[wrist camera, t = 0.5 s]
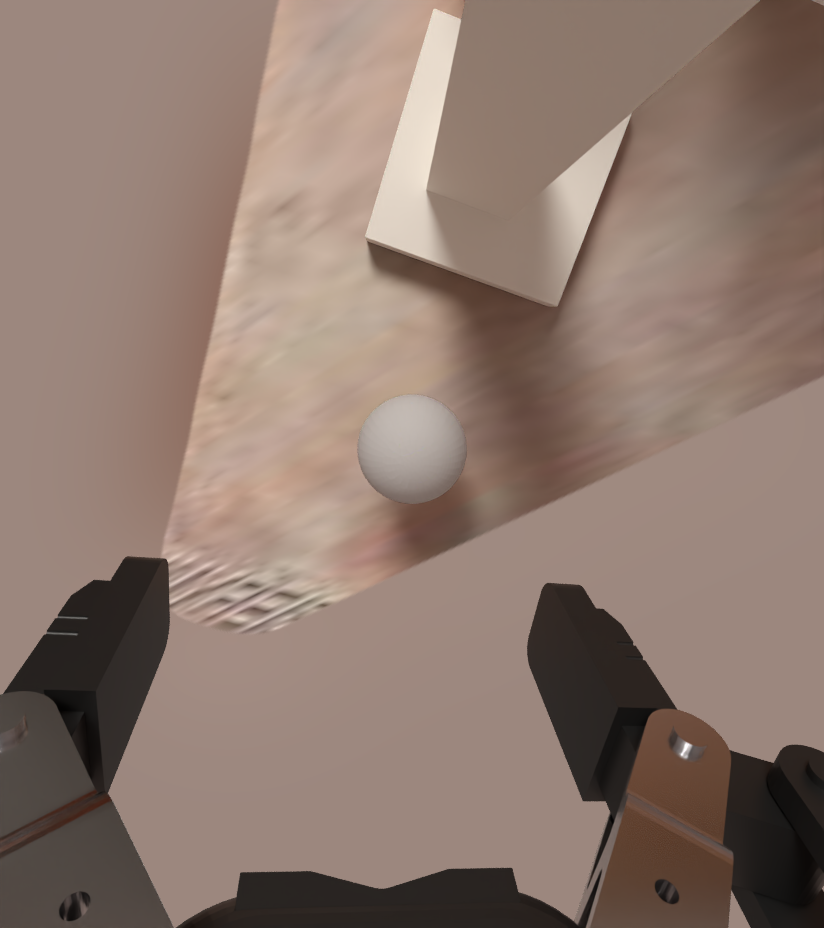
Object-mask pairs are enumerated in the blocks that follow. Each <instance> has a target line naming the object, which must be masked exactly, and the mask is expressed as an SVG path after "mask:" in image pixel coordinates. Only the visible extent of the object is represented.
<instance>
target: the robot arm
mask: <svg viewBox="0 0 824 928" xmlns="http://www.w3.org/2000/svg"><path fill="white" fill-rule="evenodd" d="M169 613H170V612H169V570H168V562H167V560H166V559H162V558H145V557H129V556H128V557H125V559H124V560H123V561H122V563H121V564H120V566H119V568H118V569H117V571H116V573H115V574H114V576H113V577H112V579H111V581H102V580H93V581H92V582H90V583H89V584H87V585H86V586H84V587H83V588H82V589H80V590H79V591H77V592H76V593H74V594H73V595H71V597H70V598H69V599H68V601H67V602H66V604H65V605H64V607H63V608H62V610H61V611H60V612H59V614H58V618H56V619H55V620H54V621H53V623H52V624H51V625H50V627H49V628H48V630H47V634H46V635H44V636H43V637H42V638H41V640H40V641H39V643H38V644H37V646H36V647H35V648H34V650H33V651H32V653H31V654H30V656H29V657H28V659H27V660H26V661H25V663H24V664H23V666H22V668H21V669H20V670H19V672H18V673H17V674H16V676H15V678H14V679H13V680H12V682H11V683H10V685H9V686H8V688H7V689H6V690H5V692H4V693H3V694H1V695H0V928H174V927H173V925H172V923H171V921H170V918H169V917H168V914H167V912H166V910H165V908H164V906H163V904H162V902H161V900H160V898H159V896H158V894H157V892H156V889H155V888H154V886H153V883H152V881H151V879H150V877H149V875H148V873H147V871H146V869H145V867H144V865H143V863H142V860H141V858H140V856H139V854H138V852H137V850H136V848H135V846H134V844H133V842H132V840H131V838H130V836H129V834H128V832H127V829H126V828H125V826H124V823H123V821H122V820H121V817H120V815H119V813H118V811H117V809H116V807H115V805H114V803H113V801H112V799H111V797H110V796H109V794H108V791H109V789H110V786H111V784H112V781H113V779H114V776H115V774H116V771H117V769H118V766H119V764H120V761H121V759H122V756H123V754H124V751H125V749H126V746H127V744H128V741H129V739H130V736H131V734H132V731H133V729H134V726H135V724H136V721H137V719H138V716H139V714H140V711H141V708H142V706H143V704H144V701H145V699H146V696H147V694H148V691H149V689H150V686H151V684H152V681H153V679H154V676H155V674H156V671H157V669H158V666H159V663H160V661H161V658H162V656H163V653H164V651H165V647H166V644H167V639H168V634H169V624H170V614H169ZM527 655H528V662H529V666H530V669H531V671H532V674H533V676H534V679H535V681H536V684H537V686H538V689H539V692H540V694H541V696H542V699H543V702H544V704H545V707H546V709H547V712H548V714H549V717H550V719H551V722H552V724H553V727H554V729H555V732H556V734H557V737H558V739H559V742H560V744H561V747H562V749H563V752H564V754H565V757H566V759H567V762H568V765H569V767H570V769H571V772H572V775H573V777H574V779H575V782H576V785H577V787H578V790H579V792H580V795H581V797H582V800H583V801H606V803H607V805H608V808H609V810H610V814H609V816H608V819H607V821H606V823H605V827H604V830H603V833H602V836H601V839H600V842H599V845H598V849H597V852H596V855H595V858H594V861H593V865H592V868H591V871H590V874H589V877H588V880H587V883H586V886H585V890H584V893H583V896H582V899H581V902H580V905H579V908H578V911H577V914H576V917H575V920H574V921H572V920H571V919H570V918H568V917H567V916H566V915H564V914H562V913H561V912H560V911H558V910H557V909H555V908H553V907H551V906H550V905H548V904H546V903H544V902H542V901H540V900H538V899H535V898H533V897H531V896H528V895H526V894H522V893H519V892H518V889H517V885H516V881H515V878H514V873H513V869H512V868H480V869H479V868H477V869H447V870H444V871H441V872H438V873H435V874H431V875H428V876H425V877H422V878H419V879H416V880H412V881H409V882H406V883H403V884H400V885H396V886H394V887H390V888H386V889H378V888H373V887H369V886H365V885H361V884H357V883H353V882H350V881H346V880H342V879H338V878H334V877H331V876H326V875H323V874H319V873H315V872H311V871H301V872H247V873H246V872H243V873H240V879H239V885H238V891H237V897H236V898H233V899H230V900H227V901H224V902H221V903H219V904H216V905H214V906H212V907H210V908H207V909H205V910H203V911H201V912H200V913H198V914H196V915H194V916H193V917H191V918H189V919H188V920H186V921H185V922H183V923H182V924H180V925H179V926H178V927H176V928H728V924H729V912H730V899H731V890H732V892H733V894H734V896H735V898H736V900H737V901H738V904H739V906H740V907H741V909H742V911H743V913H744V915H745V917H746V919H747V921H748V923H749V925H750V927H751V928H824V892H823V890H822V887H823V886H824V752H822V751H819V750H817V749H814V748H811V747H807V746H803V745H789V746H786V747H784V748H783V749H782V750H781V751H780V752H779V754H778V756H777V758H776V760H775V762H774V763H771V762H768V761H764V760H761V759H757V758H754V757H751V756H747V755H743V754H740V753H737V752H734V751H731V750H729V748H728V746H727V744H726V743H725V741H724V740H723V739H722V737H721V736H720V735H719V734H718V733H717V732H716V731H715V730H714V729H713V728H712V727H711V726H709V725H708V724H707V723H705V722H704V721H702V720H701V719H699V718H697V717H695V716H694V715H691V714H689V713H686V712H683V711H680V710H677V708H676V707H675V705H674V704H673V702H672V701H671V699H670V698H669V696H668V695H667V693H666V692H665V690H664V688H663V687H662V685H661V684H660V682H659V681H658V679H657V678H656V676H655V675H654V673H653V672H652V670H651V669H650V667H649V666H648V664H647V662H646V661H645V660H643V656H642V655H641V653H640V652H639V650H638V649H637V647H636V646H633V641H632V639H631V638H630V636H629V635H628V633H627V632H626V630H625V629H624V627H623V626H622V624H620V623H619V622H618V621H617V620H616V619H614V618H613V617H612V616H611V615H610V614H608V613H607V612H606V611H605V610H604V609H596V608H595V606H594V605H593V603H592V601H591V600H590V598H589V596H588V595H587V593H586V591H585V590H584V588H583V587H582V586H580V585H571V584H555V583H547V584H545V585H544V587H543V589H542V591H541V595H540V598H539V602H538V605H537V609H536V612H535V616H534V620H533V623H532V627H531V630H530V634H529V638H528V646H527Z"/></svg>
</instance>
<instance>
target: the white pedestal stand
mask: <svg viewBox="0 0 824 928" xmlns="http://www.w3.org/2000/svg"><path fill="white" fill-rule="evenodd" d="M759 1H760V0H465V4H464V9H463V14H462V19H459V18H456V17H454V16H451V15H449V14H446V13H444V12H441V11H439V10H437V9H434V10H433V13H432V17H431V20H430V23H429V27H428V30H427V33H426V36H425V40H424V43H423V46H422V50H421V53H420V56H419V60H418V63H417V66H416V70H415V73H414V76H413V80H412V83H411V86H410V90H409V93H408V96H407V99H406V103H405V106H404V109H403V113H402V116H401V119H400V123H399V126H398V129H397V133H396V136H395V139H394V143H393V146H392V149H391V153H390V156H389V159H388V163H387V166H386V169H385V172H384V176H383V179H382V182H381V186H380V189H379V192H378V196H377V199H376V202H375V206H374V209H373V212H372V216H371V219H370V222H369V226H368V229H367V232H366V235H365V238H366V240H367V241H368V242H371V243H373V244H376V245H379V246H382V247H384V248H387V249H390V250H393V251H395V252H398V253H401V254H404V255H407V256H409V257H412V258H415V259H418V260H420V261H423V262H426V263H429V264H432V265H434V266H437V267H440V268H443V269H445V270H448V271H451V272H454V273H456V274H459V275H462V276H465V277H468V278H470V279H473V280H476V281H479V282H481V283H484V284H487V285H490V286H492V287H495V288H498V289H501V290H504V291H506V292H509V293H512V294H515V295H517V296H520V297H523V298H526V299H529V300H531V301H534V302H537V303H540V304H542V305H545V306H548V307H558V304H559V301H560V299H561V296H562V294H563V291H564V288H565V286H566V283H567V281H568V278H569V275H570V273H571V270H572V268H573V265H574V262H575V260H576V257H577V255H578V252H579V250H580V247H581V244H582V242H583V239H584V237H585V234H586V231H587V229H588V226H589V224H590V221H591V218H592V216H593V213H594V211H595V208H596V205H597V203H598V200H599V198H600V195H601V192H602V190H603V187H604V185H605V182H606V179H607V177H608V174H609V172H610V169H611V167H612V164H613V161H614V159H615V156H616V154H617V151H618V148H619V146H620V143H621V141H622V138H623V135H624V133H625V130H626V128H627V125H628V122H629V120H630V117H631V115H632V112H633V111H634V110H636V109H637V108H638V107H639V106H640V105H641V104H642V103H644V102H645V101H646V100H647V99H648V98H649V97H650V96H652V95H653V94H654V93H655V92H656V91H657V90H658V89H660V88H661V87H662V86H663V85H664V84H665V83H666V82H668V81H669V80H670V79H671V78H672V77H673V76H674V75H676V74H677V73H678V72H679V71H680V70H681V69H682V68H684V67H685V66H686V65H687V64H688V63H689V62H690V61H692V60H693V59H694V58H695V57H696V56H697V55H699V54H700V53H701V52H702V51H703V50H704V49H705V48H707V47H708V46H709V45H710V44H711V43H712V42H713V41H715V40H716V39H717V38H718V37H719V36H720V35H721V34H723V33H724V32H725V31H726V30H727V29H728V28H729V27H731V26H732V25H733V24H734V23H735V22H736V21H737V20H739V19H740V18H741V17H742V16H743V15H744V14H745V13H747V12H748V11H749V10H750V9H751V8H752V7H753V6H755V5H756V4H757V3H758V2H759ZM812 1H814V2H816V3H819V4H821V5H823V6H824V0H812Z"/></svg>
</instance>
